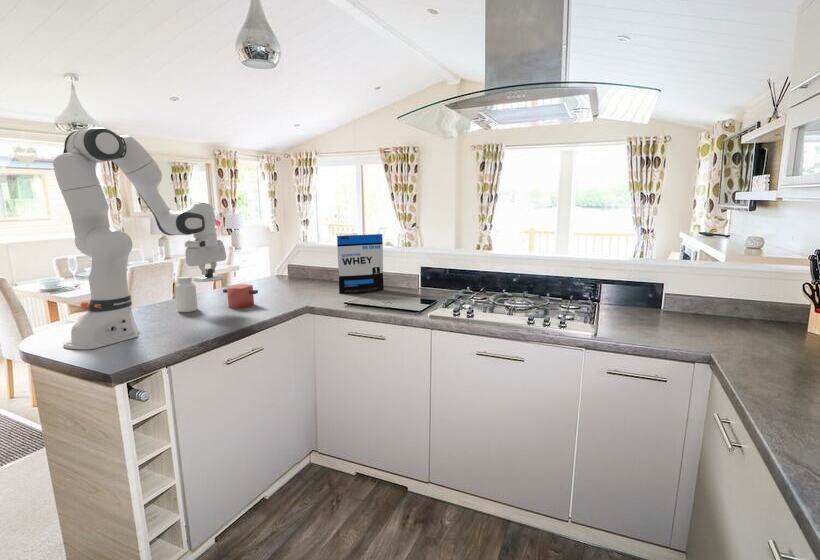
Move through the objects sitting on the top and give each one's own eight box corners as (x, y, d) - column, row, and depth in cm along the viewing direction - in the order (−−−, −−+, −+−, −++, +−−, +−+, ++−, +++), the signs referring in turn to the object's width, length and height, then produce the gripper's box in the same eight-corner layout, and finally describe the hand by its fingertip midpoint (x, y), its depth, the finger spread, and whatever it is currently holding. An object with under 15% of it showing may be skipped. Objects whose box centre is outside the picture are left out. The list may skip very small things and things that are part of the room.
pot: (250, 309, 192) (248, 289, 190) (217, 307, 196) (216, 288, 195) (264, 304, 202) (263, 285, 201) (233, 302, 207) (232, 283, 205)
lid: (211, 282, 178) (210, 271, 177) (187, 281, 181) (186, 270, 180) (230, 277, 189) (229, 267, 188) (207, 276, 192) (206, 266, 192)
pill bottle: (201, 308, 195) (198, 275, 192) (191, 312, 187) (187, 278, 185) (185, 308, 196) (181, 275, 193) (173, 312, 188) (170, 278, 185)
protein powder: (337, 292, 228) (334, 235, 222) (380, 288, 237) (379, 233, 232) (341, 295, 219) (339, 236, 214) (386, 291, 228) (385, 234, 223)
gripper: (216, 239, 193) (219, 269, 195) (181, 243, 173) (184, 277, 176) (228, 239, 191) (230, 270, 194) (194, 243, 172) (197, 278, 174)
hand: (208, 273), depth 185 cm, fingers closed on lid, 3 cm apart
